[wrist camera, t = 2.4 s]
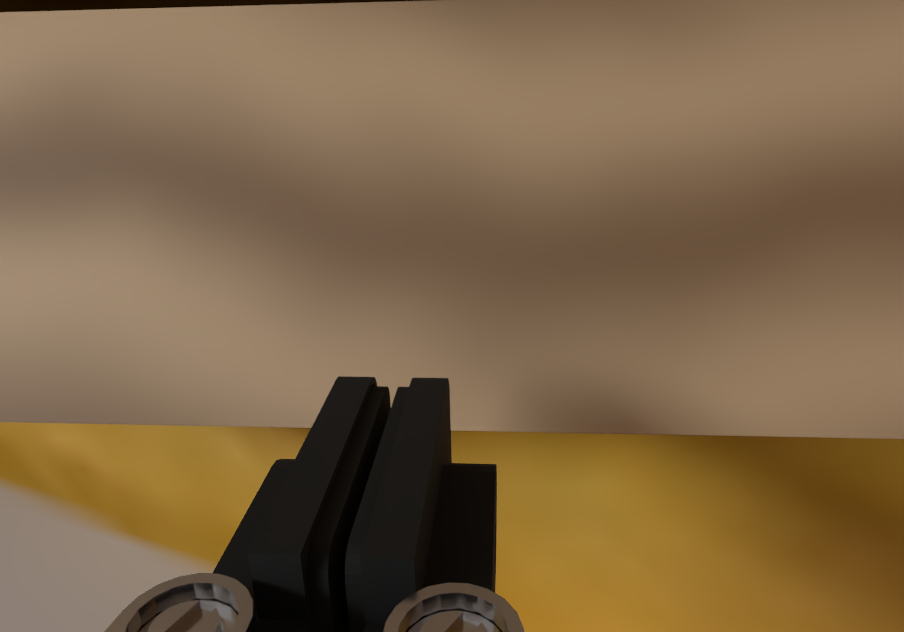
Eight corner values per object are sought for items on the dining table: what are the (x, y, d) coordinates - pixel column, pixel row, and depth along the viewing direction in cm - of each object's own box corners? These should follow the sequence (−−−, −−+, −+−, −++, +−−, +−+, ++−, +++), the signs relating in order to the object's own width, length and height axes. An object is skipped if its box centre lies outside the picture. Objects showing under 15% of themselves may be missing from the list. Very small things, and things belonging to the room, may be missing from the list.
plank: (-22, 27, 17) (-62, 0, 16) (936, 3, 15) (972, -29, 14) (-52, 417, 16) (-97, 420, 15) (958, 435, 14) (999, 440, 13)
